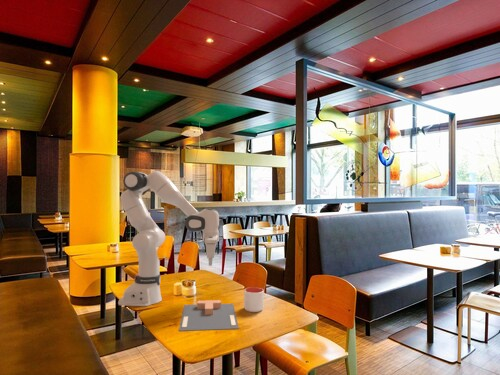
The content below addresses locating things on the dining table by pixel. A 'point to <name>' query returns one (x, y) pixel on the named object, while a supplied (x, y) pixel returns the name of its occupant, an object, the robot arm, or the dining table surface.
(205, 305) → the t block
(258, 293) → the cup
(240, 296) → the dining table surface
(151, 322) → the dining table surface
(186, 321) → the mat
